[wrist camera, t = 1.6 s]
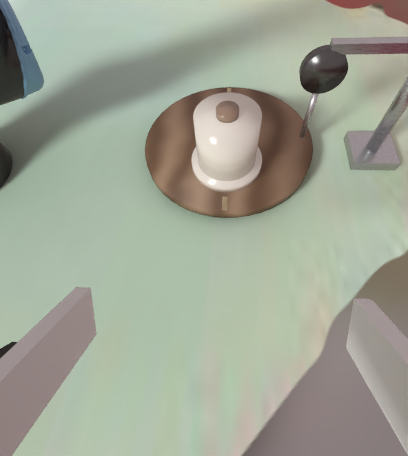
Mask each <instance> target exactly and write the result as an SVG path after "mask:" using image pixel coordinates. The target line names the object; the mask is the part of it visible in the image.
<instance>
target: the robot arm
mask: <svg viewBox="0 0 408 456" xmlns="http://www.w3.org/2000/svg"><path fill="white" fill-rule="evenodd" d="M43 84H44V78H43V75H42V72H41V70H40V67H39V65H38V63H37V60H36V58H35V56H34V54H33V52H32V50H31V48H30V45H29V43H28V41H27V38H26V36H25V34H24V32H23V30H22V27H21V25H20V23H19V21H18V19H17V17H16V15H15V13H14V11H13V9H12V7H11V5H10V3H9V1H8V0H0V105H3V104H6V103H9V102H11V101H14V100H17V99H20V98H25V97H26V96H27V95H29V94H31V93H34V92H36V91H38V90H40V89H41V88H42V87H43ZM11 166H12V159H11V155H10V153H9V152H8V151H7V149H6V148H5V147H4V146H3V145H2V144H1V143H0V187H1V185H2V184H3V183H4V182H5V180H6V179H7V177H8V175H9V173H10V170H11ZM95 335H96V327H95V319H94V311H93V303H92V295H91V288H81V287H76V288H75V289H74V290H73V291H72V292H71V293H70V294H69V295H67V296H66V297H65V298H64V299H63V300H62V301H61V302H60V303H59V304H58V305H57V306H56V307H55V308H54V309H53V310H51V311H50V312H49V313H48V314H47V315H46V316H45V317H44V318H43V319H42V320H41V321H40V322H39V323H38V324H37V325H36V326H34V327H33V328H32V329H31V330H30V331H29V332H28V333H27V334H26V335H25V336H24V337H23V338H22V339H21V340H20V341H19V342H11V343H10V344H8V345H6V346H4V347H3V348H1V349H0V456H12V455H13V453H14V452H15V450H16V449H17V447H18V446H19V445H20V443H21V442H22V440H23V439H24V437H25V436H26V434H27V433H28V432H29V430H30V429H31V427H32V426H33V424H34V423H35V422H36V420H37V419H38V417H39V416H40V414H41V413H42V412H43V410H44V409H45V407H46V406H47V404H48V403H49V401H50V400H51V399H52V397H53V396H54V394H55V393H56V391H57V390H58V389H59V387H60V386H61V384H62V383H63V381H64V380H65V379H66V377H67V376H68V374H69V373H70V371H71V370H72V368H73V367H74V366H75V364H76V363H77V361H78V360H79V358H80V357H81V356H82V354H83V353H84V351H85V350H86V348H87V347H88V345H89V344H90V343H91V341H92V340H93V338H94V337H95ZM346 348H347V350H348V352H349V353H350V355H351V357H352V358H353V360H354V362H355V364H356V366H357V367H358V369H359V371H360V373H361V374H362V376H363V378H364V380H365V381H366V383H367V385H368V387H369V388H370V390H371V392H372V394H373V395H374V397H375V399H376V401H377V402H378V404H379V406H380V407H381V409H382V411H383V412H384V415H385V416H386V418H387V420H388V421H389V423H390V425H391V427H392V429H393V430H394V432H395V434H396V436H397V437H398V439H399V441H400V443H401V444H402V446H403V448H404V450H405V451H406V453H407V455H408V339H407V338H406V337H405V336H404V335H403V334H402V333H401V332H400V330H399V329H398V328H397V327H396V326H395V325H394V324H393V323H392V322H391V321H390V319H389V318H388V317H387V316H386V315H385V314H384V313H383V312H382V311H381V310H380V308H379V307H378V306H377V305H376V304H375V303H374V302H373V301H372V300H371V299H354V303H353V309H352V315H351V321H350V328H349V333H348V339H347V345H346Z"/></svg>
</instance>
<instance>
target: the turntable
mask: <svg viewBox="0 0 408 456" xmlns="http://www.w3.org/2000/svg"><path fill="white" fill-rule="evenodd" d="M225 92H233V93H239V94H243V95H245V96H248V97H250V98H251V99H253V100H254V101H255V102H256V103H257V104H258V105H259V107H260V109H261V111H262V121H261V128H260V134H259V141H258V147H259V149H260V151H261V154H262V165H261V170H260V173H259V176H258V177H257V179H256V180H255V181H254V182H253V183H252V184H251V185H250V186H248V187H246V188H244V189H242V190H239V191H236V192H226V193H225V192H217V191H213V190H211V189H208V188H206V187H205V186H203V185H202V184H201V183H200V182H199V181H198V180H197V179H196V177H195V175H194V173H193V168H192V154H193V151H194V149H195V147H196V139H195V130H194V121H193V114H194V111H195V108H196V107H197V105H198V104H199V103H200V102H201V101H202V100H204V99H205V98H207V97H209V96H211V95H214V94H218V93H225ZM303 122H304V121H303V119H302V118H301V117H300V116H299V114H298V113H297V112H296V111H295V110H294V109H292V108H291V107H290V106H289V105H287V104H286V103H284V102H283V101H281V100H279V99H278V98H276V97H274V96H271V95H269V94H266V93H263V92H260V91H256V90H252V89H246V88H234V87H226V88H215V89H209V90H204V91H200V92H197V93H194V94H191V95H189V96H186V97H184V98H182V99H180V100H179V101H177V102H175V103H174V104H172V105H171V106H169V107H168V108H167V109H166V110H165V111H164V112H162V113H161V115H160V116H159V117H158V118H157V119H156V121H155V122H154V124H153V125H152V127H151V129H150V131H149V133H148V136H147V140H146V146H145V157H146V161H147V166H148V169H149V171H150V174H151V176H152V179H153V180H154V182H155V184H156V185H157V187H158V188H159V189H160V190H161V191H162V193H163V194H164V195H166V196H167V197H168V198H169V199H170V200H171V201H173V202H174V203H176V204H178V205H179V206H181V207H183V208H185V209H187V210H189V211H192V212H195V213H198V214H202V215H207V216H211V217H222V218H233V217H243V216H249V215H253V214H257V213H261V212H263V211H266V210H268V209H271V208H273V207H274V206H276V205H278V204H280V203H282V202H283V201H284V200H286V199H287V198H288V197H290V196H291V195H292V194H293V193H294V192H295V191H296V190H297V188H298V187H299V186H300V184H301V183H302V181H303V180H304V178H305V176H306V174H307V171H308V169H309V166H310V163H311V160H312V153H313V146H312V139H311V135H310V132H309V130H308V127H307V130H306V133H305V136H304V138H300V137H299V135H300V132H301V129H302V125H303Z"/></svg>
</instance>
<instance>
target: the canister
mask: <svg viewBox="0 0 408 456" xmlns="http://www.w3.org/2000/svg"><path fill="white" fill-rule="evenodd" d="M193 121H194V130H195V139H196V147H195V149H194V151H193V154H192V168H193V173H194V175H195V177H196V179H197V180H198V181H199V182H200V183H201V184H202V185H203V186H205V187H206V188H208V189H211V190H213V191H217V192H225V193H226V192H236V191H239V190H242V189H244V188H246V187H248V186H250V185H251V184H252V183H253V182H254V181H255V180H256V179H257V177H258V176H259V173H260V170H261V165H262V154H261V151H260V149H259V147H258V141H259V134H260V128H261V121H262V111H261V109H260V107H259V105H258V104H257V103H256V102H255V101H254V100H253V99H251V98H250V97H248V96H245V95H243V94H239V93H233V92H225V93H218V94H214V95H211V96H209V97H207V98H205V99H204V100H202V101H201V102H200V103H199V104H198V105H197V107H196V108H195V111H194V114H193Z"/></svg>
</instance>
